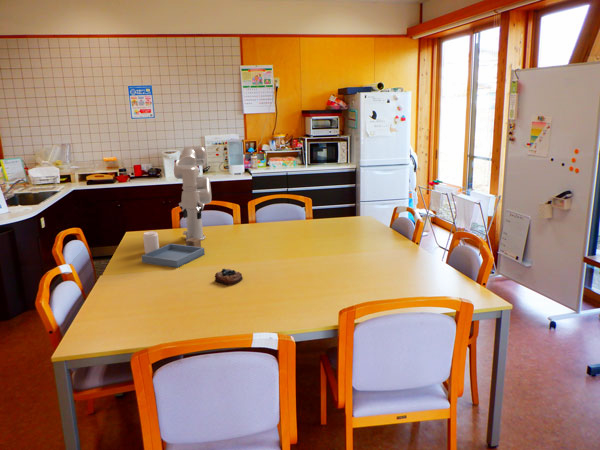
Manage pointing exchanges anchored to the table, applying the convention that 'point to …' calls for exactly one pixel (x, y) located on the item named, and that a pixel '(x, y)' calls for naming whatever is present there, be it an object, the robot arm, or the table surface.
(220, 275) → the pastry
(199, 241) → the walnut block
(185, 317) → the table surface
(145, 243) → the beverage can
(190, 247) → the slate tray
